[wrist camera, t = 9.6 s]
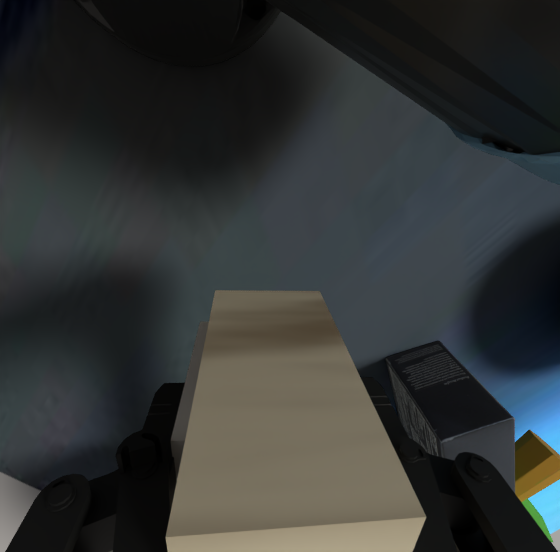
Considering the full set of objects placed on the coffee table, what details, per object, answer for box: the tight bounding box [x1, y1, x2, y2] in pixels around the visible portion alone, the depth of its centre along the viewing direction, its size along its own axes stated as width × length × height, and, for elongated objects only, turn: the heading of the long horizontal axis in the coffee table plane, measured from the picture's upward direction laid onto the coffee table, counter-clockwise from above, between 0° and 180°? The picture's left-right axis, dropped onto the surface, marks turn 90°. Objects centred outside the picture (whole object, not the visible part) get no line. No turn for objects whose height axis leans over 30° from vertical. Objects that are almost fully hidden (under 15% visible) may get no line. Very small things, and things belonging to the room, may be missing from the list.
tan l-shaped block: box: [166, 290, 426, 552], centre depth 15 cm, size 21×5×10 cm, turn 177°
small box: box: [386, 341, 515, 493], centre depth 31 cm, size 11×6×10 cm, turn 18°
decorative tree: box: [515, 430, 560, 542], centre depth 38 cm, size 11×12×30 cm
